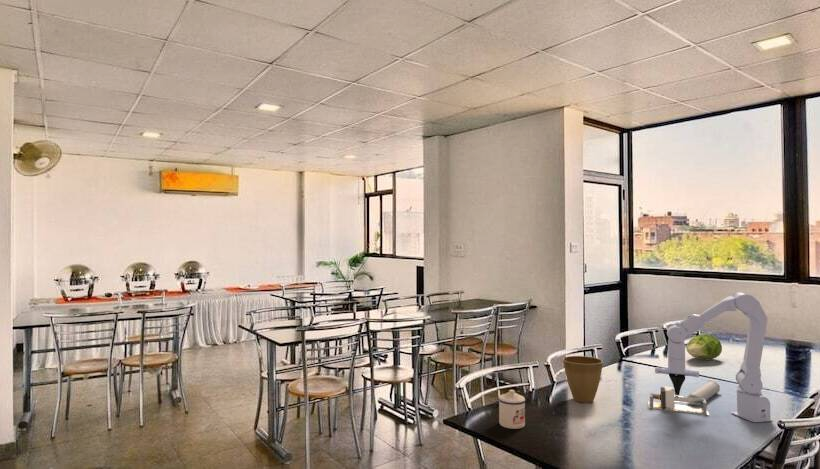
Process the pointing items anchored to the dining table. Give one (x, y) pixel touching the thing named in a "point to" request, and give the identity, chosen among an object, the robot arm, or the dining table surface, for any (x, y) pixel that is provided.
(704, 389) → the tube
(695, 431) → the dining table surface
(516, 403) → the teacup with lid
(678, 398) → the rod rig
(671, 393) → the sleeve
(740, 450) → the dining table surface
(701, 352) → the lettuce
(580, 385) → the plant pot
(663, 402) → the dark gray slab
